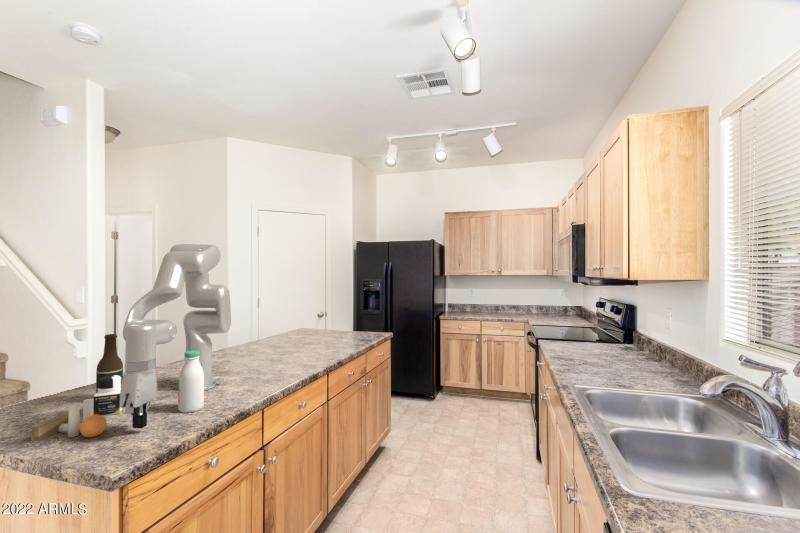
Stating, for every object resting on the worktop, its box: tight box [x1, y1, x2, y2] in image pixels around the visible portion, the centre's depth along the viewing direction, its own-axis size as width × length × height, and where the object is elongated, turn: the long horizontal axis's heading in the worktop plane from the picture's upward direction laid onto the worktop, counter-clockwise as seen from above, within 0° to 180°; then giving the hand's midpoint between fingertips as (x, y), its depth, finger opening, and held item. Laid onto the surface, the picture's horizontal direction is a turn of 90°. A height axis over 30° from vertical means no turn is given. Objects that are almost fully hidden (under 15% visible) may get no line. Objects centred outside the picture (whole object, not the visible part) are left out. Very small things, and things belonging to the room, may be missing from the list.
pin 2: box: [82, 398, 94, 422], centre depth 112 cm, size 2×2×8 cm
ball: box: [79, 415, 107, 438], centre depth 107 cm, size 6×6×6 cm
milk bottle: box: [177, 350, 205, 413], centre depth 128 cm, size 8×8×20 cm
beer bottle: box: [95, 333, 124, 394], centre depth 137 cm, size 8×8×24 cm
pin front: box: [58, 423, 81, 433], centre depth 109 cm, size 2×2×8 cm
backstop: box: [31, 410, 69, 442], centre depth 109 cm, size 2×12×4 cm, turn 1°
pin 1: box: [67, 404, 81, 438], centre depth 107 cm, size 2×2×8 cm
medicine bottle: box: [93, 375, 124, 417], centre depth 125 cm, size 7×7×12 cm
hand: (139, 427), depth 110 cm, fingers closed
